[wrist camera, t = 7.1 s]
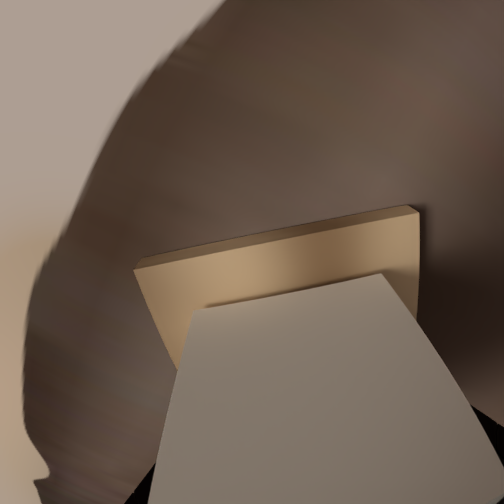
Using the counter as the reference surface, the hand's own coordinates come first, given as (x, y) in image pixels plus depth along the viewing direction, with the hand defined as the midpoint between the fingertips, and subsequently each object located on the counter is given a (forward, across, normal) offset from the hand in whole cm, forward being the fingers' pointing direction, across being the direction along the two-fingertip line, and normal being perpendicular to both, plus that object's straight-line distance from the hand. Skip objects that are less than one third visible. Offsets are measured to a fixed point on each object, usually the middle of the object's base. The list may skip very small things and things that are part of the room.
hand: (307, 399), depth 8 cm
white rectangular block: (+2, 0, 0) cm, 2 cm away
